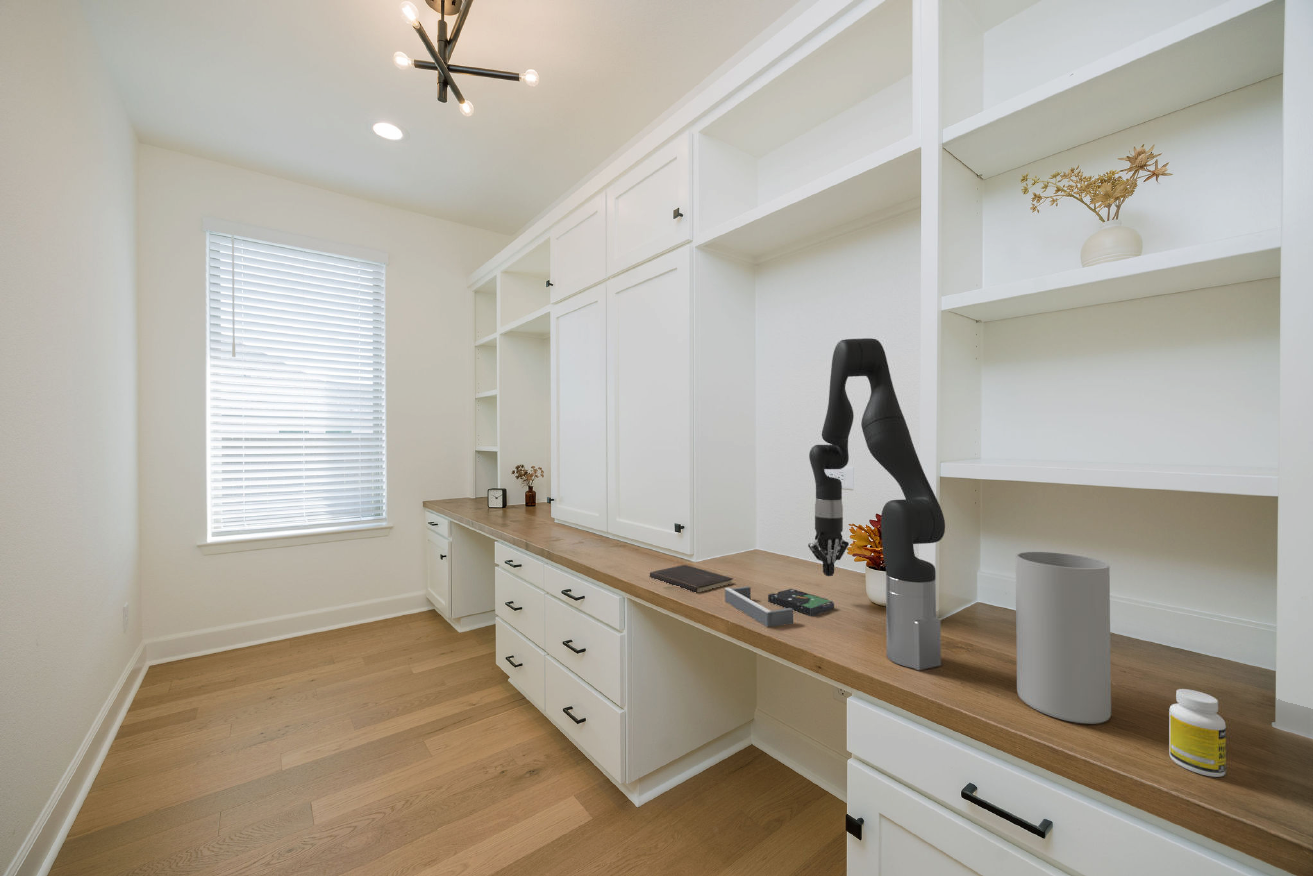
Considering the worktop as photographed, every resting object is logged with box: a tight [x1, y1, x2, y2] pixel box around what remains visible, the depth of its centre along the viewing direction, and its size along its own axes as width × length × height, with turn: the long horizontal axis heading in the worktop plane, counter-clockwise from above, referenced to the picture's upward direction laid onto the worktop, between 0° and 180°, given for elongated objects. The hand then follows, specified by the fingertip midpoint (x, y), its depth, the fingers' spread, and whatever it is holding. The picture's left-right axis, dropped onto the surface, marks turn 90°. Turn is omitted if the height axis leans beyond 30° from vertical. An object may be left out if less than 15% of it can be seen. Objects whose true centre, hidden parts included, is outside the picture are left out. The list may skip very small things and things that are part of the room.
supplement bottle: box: [1168, 688, 1227, 778], centre depth 70 cm, size 5×5×10 cm
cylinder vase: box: [1015, 551, 1112, 725], centre depth 86 cm, size 12×12×25 cm
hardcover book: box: [649, 564, 734, 594], centre depth 164 cm, size 16×23×2 cm
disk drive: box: [767, 588, 835, 617], centre depth 139 cm, size 10×3×15 cm
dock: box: [724, 585, 794, 628], centre depth 134 cm, size 21×8×4 cm, turn 21°
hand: (828, 575), depth 143 cm, fingers closed
